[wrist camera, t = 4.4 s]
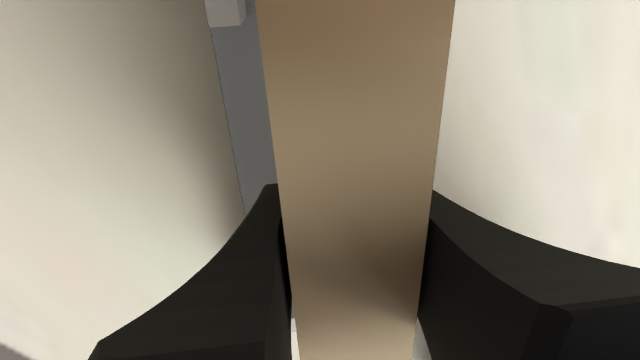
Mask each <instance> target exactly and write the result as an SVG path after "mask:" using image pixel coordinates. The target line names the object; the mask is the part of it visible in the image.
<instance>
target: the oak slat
mask: <svg viewBox="0 0 640 360" xmlns="http://www.w3.org/2000/svg"><path fill="white" fill-rule="evenodd" d="M255 6H256V14H257V22H258V30H259V38H260V46H261V54H262V62H263V69H264V77H265V85H266V93H267V101H268V109H269V117H270V125H271V133H272V141H273V149H274V157H275V165H276V173H277V181H278V189H279V197H280V204H281V212H282V220H283V228H284V236H285V244H286V252H287V260H288V268H289V276H290V284H291V292H292V300H293V308H294V316H295V324H296V331H297V339H298V347H299V355H300V360H412V353H413V345H414V336H415V328H416V320H417V312H418V303H419V295H420V287H421V279H422V270H423V262H424V254H425V246H426V237H427V229H428V221H429V213H430V204H431V196H432V188H433V180H434V171H435V163H436V155H437V147H438V138H439V130H440V122H441V114H442V105H443V97H444V89H445V81H446V72H447V64H448V56H449V48H450V39H451V31H452V23H453V15H454V6H455V0H255Z"/></svg>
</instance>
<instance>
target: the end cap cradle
mask: <svg viewBox="0 0 640 360" xmlns="http://www.w3.org/2000/svg"><path fill="white" fill-rule="evenodd" d="M204 4H205V10H206V15H207V20H208V26H209V27H210V30H211V36H212V41H213V46H214V52H215V57H216V62H217V68H218V73H219V78H220V84H221V89H222V94H223V100H224V105H225V111H226V116H227V121H228V127H229V132H230V137H231V143H232V148H233V153H234V159H235V164H236V170H237V175H238V180H239V186H240V191H241V196H242V202H243V207H244V212H245V217H246V216H247V214H248V213H249V211H250V210H251V208H252V206H253V205H254V203H255V201H256V200H257V198H258V196H259V194H260V192H261V190H262V188H263V187H264V186H265V185H266V184H275V183H278V181H277V173H276V165H275V157H274V149H273V141H272V133H271V125H270V117H269V109H268V101H267V93H266V85H265V77H264V69H263V62H262V54H261V46H260V38H259V30H258V22H257V14H256V6H255V0H204ZM294 331H296V324H295V316H294V308H293V300H292V315H291V332H294Z"/></svg>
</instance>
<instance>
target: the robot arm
mask: <svg viewBox="0 0 640 360" xmlns="http://www.w3.org/2000/svg"><path fill="white" fill-rule="evenodd" d="M291 315H292V292H291V284H290V276H289V268H288V260H287V252H286V244H285V236H284V228H283V220H282V212H281V204H280V197H279V189H278V183H275V184H266V185H265V186H264V187H263V188H262V190H261V192H260V194H259V196H258V198H257V200H256V201H255V203H254V205H253V206H252V208H251V210H250V211H249V213H248V214H247V216H246V217H245V219H244V220H243V222H242V223H241V225H240V226H239V227H238V229H237V230H236V231H235V232H234V234H233V235H232V236H231V238H230V239H229V240H228V241H227V243H226V244H225V245H224V246H223V247H222V249H221V250H220V251H219V252H218V253H217V254H216V255H215V256H214V257H213V258H212V259H211V260H210V261H209V262H208V263H207V264H206V265H205V266H204V267H203V268H202V269H201V270H200V271H199V272H197V273H196V274H195V275H194V276H193V277H192V278H191V279H189V280H188V281H187V282H186V283H185V284H184V285H182V286H181V287H180V288H179V289H177V290H176V291H175V292H173V293H172V294H171V295H170V296H168V297H167V298H166V299H164V300H163V301H161V302H160V303H159V304H157V305H156V306H154V307H153V308H152V309H150V310H149V311H147V312H146V313H144V314H143V315H141V316H140V317H138V318H136V319H135V320H133V321H131V322H130V323H128V324H127V325H125V326H123V327H122V328H120V329H119V330H117V331H115V332H114V333H112V334H110V335H109V336H107V337H105V338H104V339H102V340H100V341H99V342H98V343H97V345H96V347H95V348H94V350H93V352H92V354H91V355H90V357H89V359H88V360H292V353H291ZM417 317H418V319H419V322H420V324H421V327H422V330H423V333H424V336H425V339H426V342H427V345H428V348H429V351H430V354H431V357H432V360H640V268H636V267H631V266H627V265H622V264H618V263H613V262H608V261H604V260H600V259H597V258H593V257H590V256H586V255H582V254H579V253H575V252H571V251H568V250H565V249H562V248H558V247H555V246H552V245H549V244H546V243H543V242H541V241H538V240H535V239H532V238H529V237H526V236H524V235H521V234H519V233H516V232H513V231H511V230H509V229H506V228H504V227H502V226H500V225H497V224H495V223H493V222H490V221H488V220H486V219H484V218H482V217H480V216H478V215H476V214H474V213H472V212H471V211H469V210H467V209H465V208H463V207H461V206H459V205H458V204H456V203H454V202H452V201H451V200H449V199H447V198H446V197H444V196H442V195H441V194H439V193H437V192H436V191H434V190H433V189H432V196H431V204H430V213H429V221H428V229H427V237H426V246H425V254H424V262H423V270H422V279H421V287H420V295H419V303H418V312H417Z"/></svg>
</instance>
